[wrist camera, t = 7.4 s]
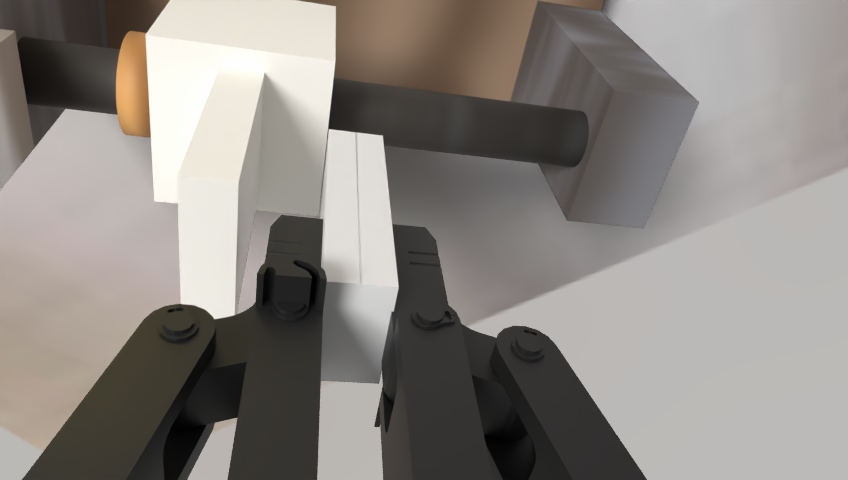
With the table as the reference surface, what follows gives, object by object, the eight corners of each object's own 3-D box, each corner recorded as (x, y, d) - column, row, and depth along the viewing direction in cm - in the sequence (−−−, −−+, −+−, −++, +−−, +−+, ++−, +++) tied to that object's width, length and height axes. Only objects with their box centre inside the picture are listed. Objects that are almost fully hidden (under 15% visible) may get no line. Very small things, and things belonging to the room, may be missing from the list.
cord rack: (604, -44, 30) (777, 79, 18) (547, 135, 35) (654, 323, 23) (7, -153, 25) (-282, -82, 13) (40, 73, 30) (-149, 268, 18)
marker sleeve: (335, 6, 23) (334, 166, 14) (321, 142, 26) (312, 348, 16) (182, -18, 22) (71, 138, 13) (185, 126, 25) (97, 337, 16)
